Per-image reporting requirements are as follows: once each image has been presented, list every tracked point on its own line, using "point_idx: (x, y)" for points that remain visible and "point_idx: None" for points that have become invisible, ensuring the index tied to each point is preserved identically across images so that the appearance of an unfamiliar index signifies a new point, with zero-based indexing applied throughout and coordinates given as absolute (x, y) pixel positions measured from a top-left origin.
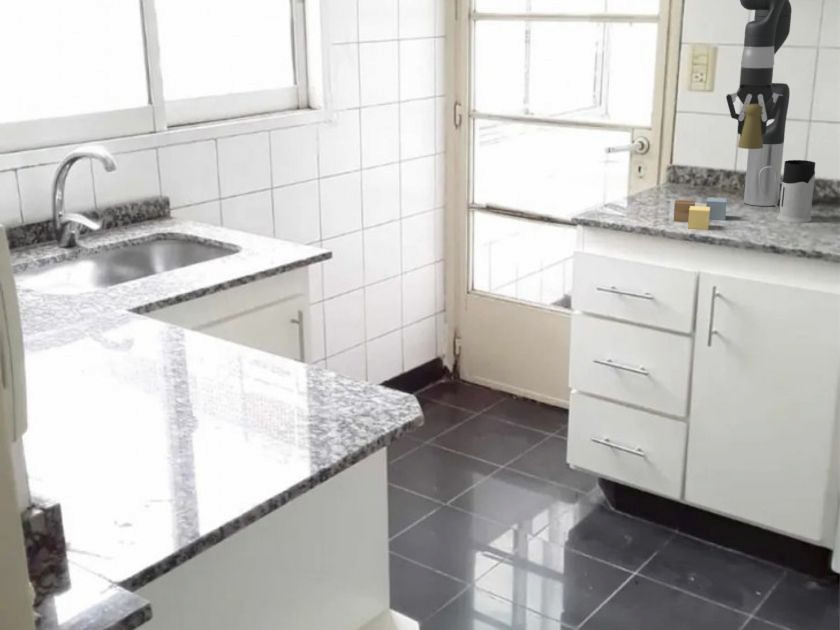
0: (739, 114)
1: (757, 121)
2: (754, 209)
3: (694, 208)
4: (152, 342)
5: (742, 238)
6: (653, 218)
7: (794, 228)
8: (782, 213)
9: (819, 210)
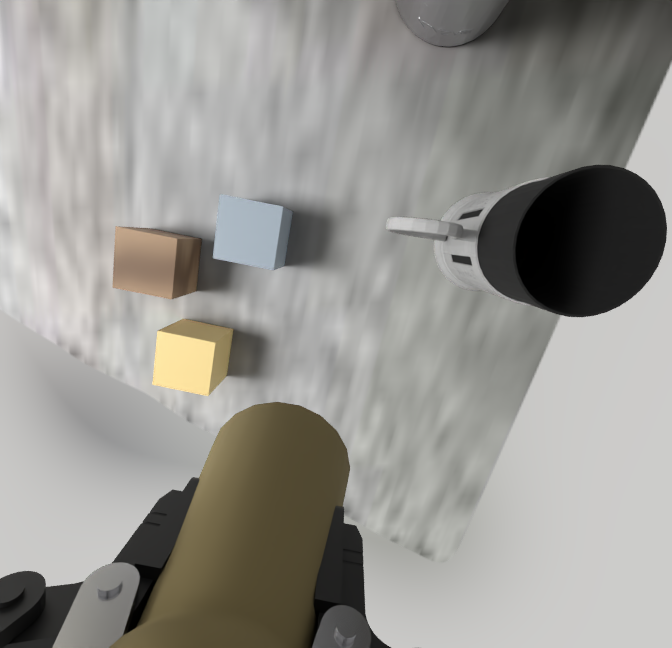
0: (66, 633)
1: None
2: (402, 99)
3: (168, 365)
4: None
5: None
6: (91, 245)
7: (445, 356)
8: (446, 262)
9: (609, 107)
